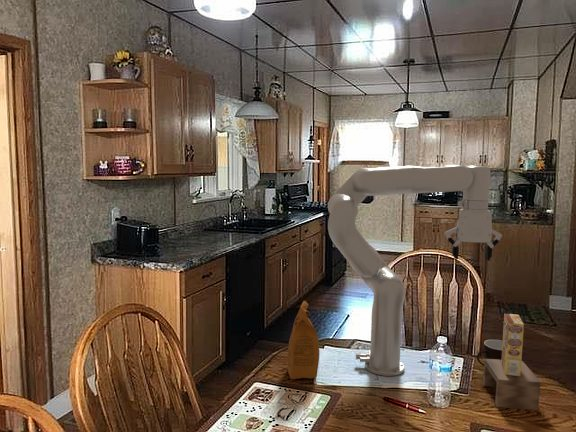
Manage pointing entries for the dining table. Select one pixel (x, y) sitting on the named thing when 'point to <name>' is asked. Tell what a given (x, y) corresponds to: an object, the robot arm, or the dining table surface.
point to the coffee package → (303, 347)
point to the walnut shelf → (512, 386)
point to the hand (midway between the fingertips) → (471, 259)
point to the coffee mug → (491, 350)
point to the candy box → (512, 344)
